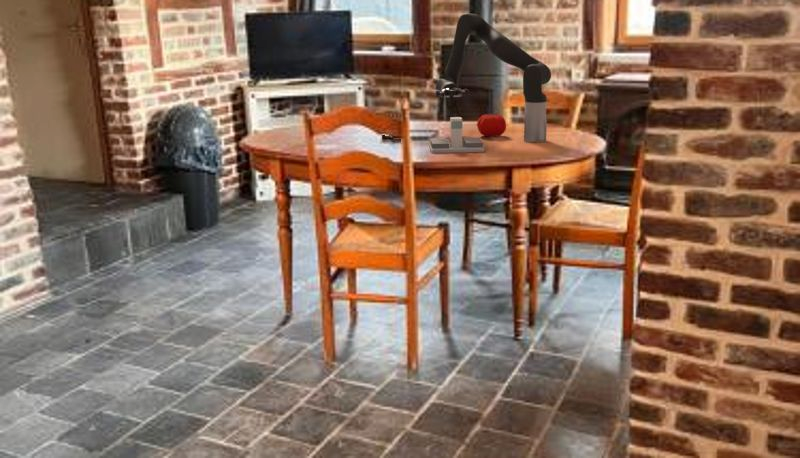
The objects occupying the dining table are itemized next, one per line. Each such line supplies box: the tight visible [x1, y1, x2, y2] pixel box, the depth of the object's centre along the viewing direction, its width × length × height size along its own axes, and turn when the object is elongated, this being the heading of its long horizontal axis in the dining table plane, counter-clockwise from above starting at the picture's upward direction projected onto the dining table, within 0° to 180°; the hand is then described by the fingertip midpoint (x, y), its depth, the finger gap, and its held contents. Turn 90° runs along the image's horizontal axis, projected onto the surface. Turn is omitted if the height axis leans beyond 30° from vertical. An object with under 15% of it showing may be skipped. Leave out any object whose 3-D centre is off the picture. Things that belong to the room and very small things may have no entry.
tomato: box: [476, 112, 507, 137], centre depth 356 cm, size 13×12×11 cm
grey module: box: [449, 116, 463, 148], centre depth 326 cm, size 5×5×12 cm
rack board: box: [428, 137, 486, 154], centre depth 327 cm, size 22×16×4 cm
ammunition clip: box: [381, 112, 401, 141], centre depth 354 cm, size 11×2×12 cm, turn 88°
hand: (453, 94), depth 336 cm, fingers open, 8 cm apart
